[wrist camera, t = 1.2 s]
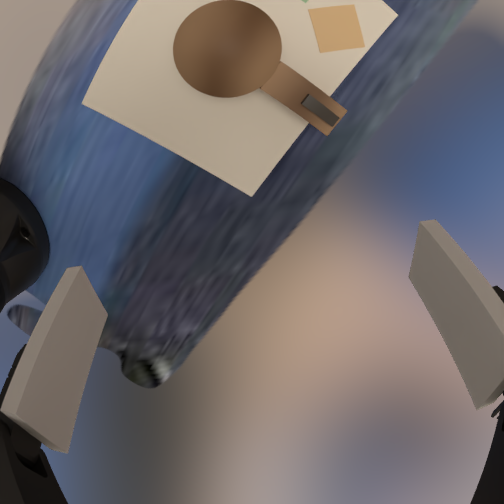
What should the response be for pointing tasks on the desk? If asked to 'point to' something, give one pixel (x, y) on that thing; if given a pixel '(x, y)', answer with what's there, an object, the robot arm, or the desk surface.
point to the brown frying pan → (246, 61)
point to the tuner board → (236, 108)
